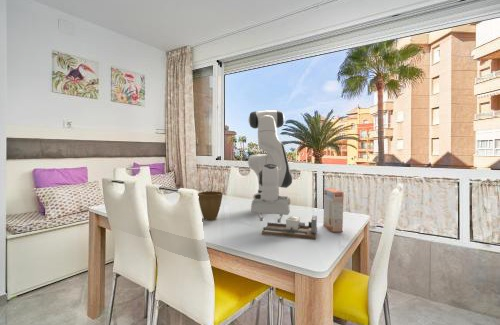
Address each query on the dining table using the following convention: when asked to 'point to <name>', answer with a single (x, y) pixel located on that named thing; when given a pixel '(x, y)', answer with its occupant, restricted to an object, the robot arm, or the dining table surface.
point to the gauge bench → (289, 234)
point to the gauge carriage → (293, 223)
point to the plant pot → (210, 204)
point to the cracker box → (333, 209)
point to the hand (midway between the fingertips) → (270, 221)
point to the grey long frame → (311, 225)
